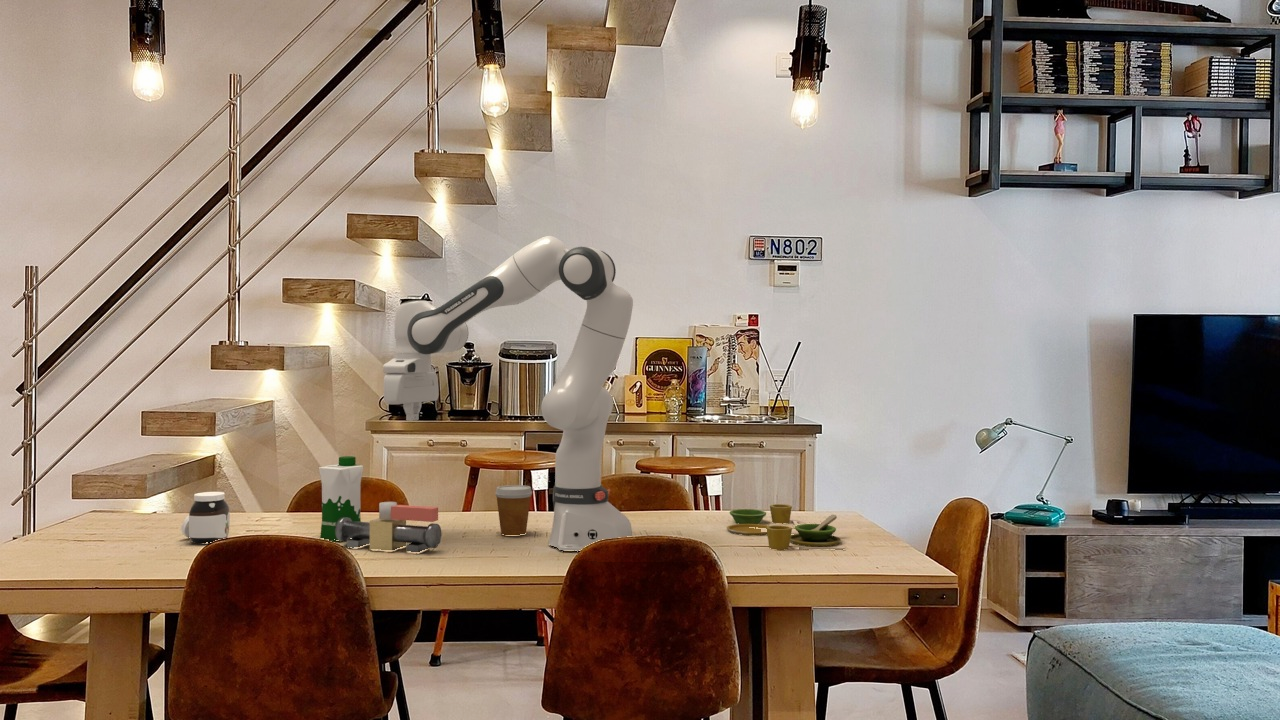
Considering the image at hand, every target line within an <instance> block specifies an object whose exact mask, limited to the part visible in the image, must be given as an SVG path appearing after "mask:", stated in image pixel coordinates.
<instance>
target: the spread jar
mask: <svg viewBox="0 0 1280 720" xmlns="http://www.w3.org/2000/svg"><path fill="white" fill-rule="evenodd" d="M225 498H226V497H225V492H224V491H204V492H198V493H194V495H193V501H194V502H193V504H192V505H191V508H190V510H189V514H188V515H187V516H186V517H184V520H183V521H182V522H181V523H182V524H181V527H180V528H181V529H180V530H181V533H182V535H184V537H187V538H188V539H190V541H191V542H192V543H194V542H195V543H194V544H196V543H206V542H208V543H210V542H213V541H215V540H218V539H223V538H228V537H229V534H230V526H231V525H230V524H231V523H230V518H231V517H230V513H231V512H230V507H229V504H228V503H227V501H226V500H225ZM189 537H190V538H189Z"/></svg>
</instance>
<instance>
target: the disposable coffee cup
mask: <svg viewBox="0 0 1280 720" xmlns="http://www.w3.org/2000/svg"><path fill="white" fill-rule="evenodd" d="M494 494H495V497H496V502H497V504H496V505H497V511H498V520H499V527H500V529H499V530H500V535H501V534H504V535H520V534H525V533H526V534H527V528H528V527H527V526H528V520H529V513H530V504H531V497H532V494H533V491H532V487H531V486H530V485H522V484H521V485H520V484H509V485H500V486H497V487H496V490H495V492H494Z"/></svg>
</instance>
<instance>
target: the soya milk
mask: <svg viewBox="0 0 1280 720" xmlns="http://www.w3.org/2000/svg"><path fill="white" fill-rule="evenodd" d="M356 461H357V460H356V456H352V455H351V456H350V455H349V456H348V455H347V456H346V455H345V456H339V457H338V464H330V465H325V466H320V467H318V472H319V477H320V482H321V523H320V524H321V525H320V536H319V539H320V538H324V539H329V540H333V541H332V542H335V541H336V540H338V539H337V538H336V535H335V527H336V524H337V522H338V520H339V519H340V518H342V517H349V518H351V520H352V521H357V522H362V521H361V484H362V483H361V482H362V477H363V472H364V465H360V464H356ZM334 539H335V540H334ZM336 543H338V542H337V541H336Z"/></svg>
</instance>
